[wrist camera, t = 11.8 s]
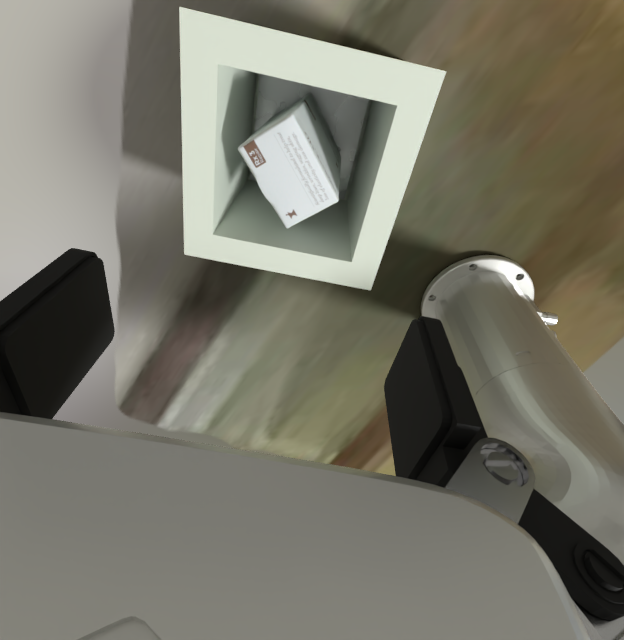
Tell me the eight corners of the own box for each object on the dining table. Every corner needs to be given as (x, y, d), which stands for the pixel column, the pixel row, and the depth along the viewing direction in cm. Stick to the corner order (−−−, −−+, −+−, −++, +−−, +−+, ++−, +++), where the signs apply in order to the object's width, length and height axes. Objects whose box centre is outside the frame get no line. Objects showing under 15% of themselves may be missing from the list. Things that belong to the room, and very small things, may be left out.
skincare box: (343, 157, 34) (346, 203, 24) (300, 181, 35) (287, 234, 25) (309, 87, 30) (298, 108, 21) (264, 117, 32) (234, 149, 22)
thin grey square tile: (370, 89, 31) (371, 90, 30) (344, 195, 37) (344, 199, 36) (262, 63, 30) (260, 64, 30) (252, 176, 36) (250, 179, 35)
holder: (405, 61, 31) (446, 71, 19) (360, 219, 39) (370, 290, 28) (238, 20, 30) (179, 6, 18) (228, 192, 38) (184, 254, 27)
